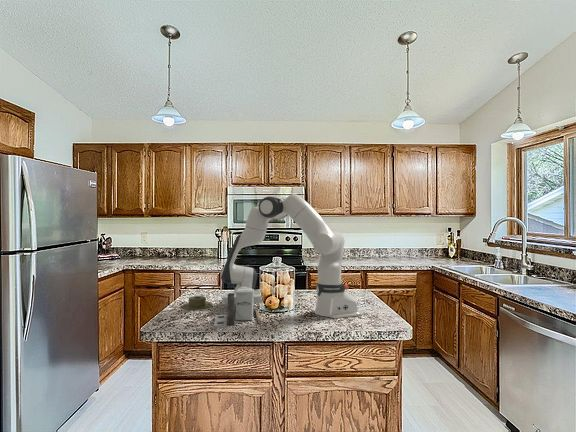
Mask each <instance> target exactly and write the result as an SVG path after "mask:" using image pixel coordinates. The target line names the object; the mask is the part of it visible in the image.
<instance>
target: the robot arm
mask: <svg viewBox="0 0 576 432" xmlns="http://www.w3.org/2000/svg"><path fill="white" fill-rule="evenodd" d="M288 216H289V217H290V218H291V219H292V220H293V221H294V223H296V225H297V227H299V228H300V229H301V231H302V232H303V233H304V234H305V235H306V237H307V239H308V240H309V241H310V243H311V245H312V247H313V249H314V250H315V252H316V253H318V254H320V256H319V262H318V264H317V283H316V295H317V297H316V304H315V308H314V314H315V315H317V316H322V317H327V318H331V319H341V318H350V317H359V316H363V311H362V309H360V308H359V307H358V302H357V300H356V298H354V297H353V296H352V295H351V294H350V293H348V292H347V291H346V290H348V289H349V285H347V284H344V283H342V263H343V256H344V245H345V237H344V236H343V234H342V233H341V232H339V231H338V230H336V229H335V230H333V229H332V230H331V229H330V228H329V226H328V225H327V224H326V222H325V221H324V219H323V218H322V216H321V215H320V214H319V213H318V211H317V210H315V208H314V207H312V205H311V204H310V203H309V202H308V201H306V200H305V199H304V198H303V197H301V196H300V195H298V194H296V193H292V194H289V195H288V196H287V197H286V198H283V197H279V196H266V197H264V198H262V199H261V200H259V203H258V206H253V207H252V208H251V209H250V211H249V214H248V216H247V219H246V224H245V227H244V230H243V231H242V233H240V234H237V236H236V237H235V239H234V241H233V244H232V247H231V248H230V251H229V254H228V256H227V259H226V262H225V263H224V266H223V267H222V268H221V272H220V279H221V281H222V282H224V284H233V285H236V286H235V287H234V291H233V293H234V305H236V292H237V290H238V289H254V294H253V305H254V304H263V303H262V299H261V295H260V290H261V289H259V288H256V285H257V280H258V274H257V271H256V269H255V267H250V266H243V265H239V264H238V265H237V264H235V262H236V260H237V256H238V254H239V251H241V249H242V248H246V247H251V246H256V245H259V244H260V243H263V241H264V240H265V237H266V234H267V231H268V226H269V222H270V221H271V220H276V219H284V218H286V217H288ZM228 294H229V293H225V294H223V296H222V297H221V301H222V305H227V306H228Z"/></svg>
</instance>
